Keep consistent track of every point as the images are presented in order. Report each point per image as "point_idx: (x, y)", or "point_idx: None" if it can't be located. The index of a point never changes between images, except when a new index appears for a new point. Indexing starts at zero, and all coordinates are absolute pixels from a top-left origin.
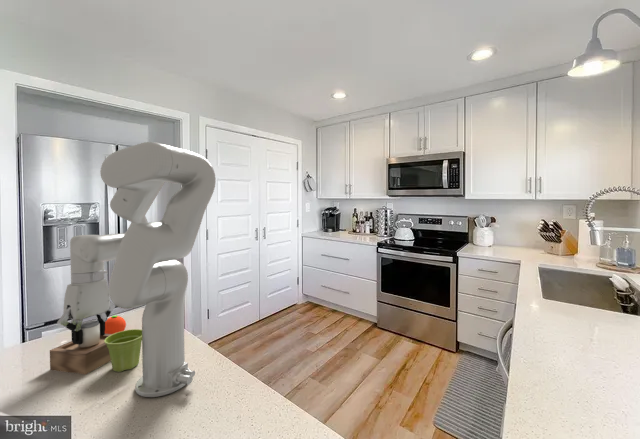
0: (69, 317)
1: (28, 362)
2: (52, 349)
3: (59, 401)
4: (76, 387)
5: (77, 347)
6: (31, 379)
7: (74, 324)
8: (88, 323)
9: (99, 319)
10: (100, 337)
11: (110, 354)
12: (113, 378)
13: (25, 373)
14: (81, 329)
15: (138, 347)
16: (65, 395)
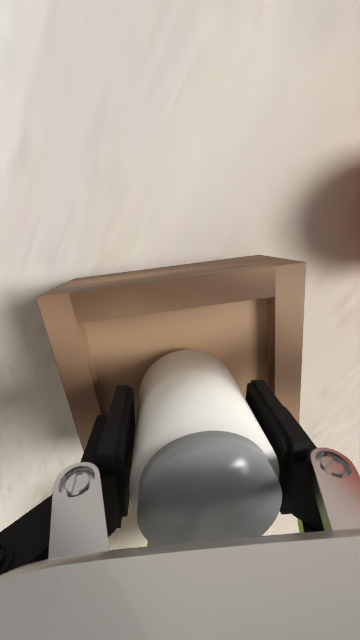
0: (33, 583)
1: (65, 63)
2: (49, 301)
3: (3, 493)
4: (59, 470)
5: (148, 359)
6: (6, 291)
7: (91, 521)
8: (198, 517)
9: (303, 501)
10: (270, 354)
11: (148, 541)
12: (130, 507)
13: (11, 203)
14: (134, 498)
15: None
16: (24, 481)
